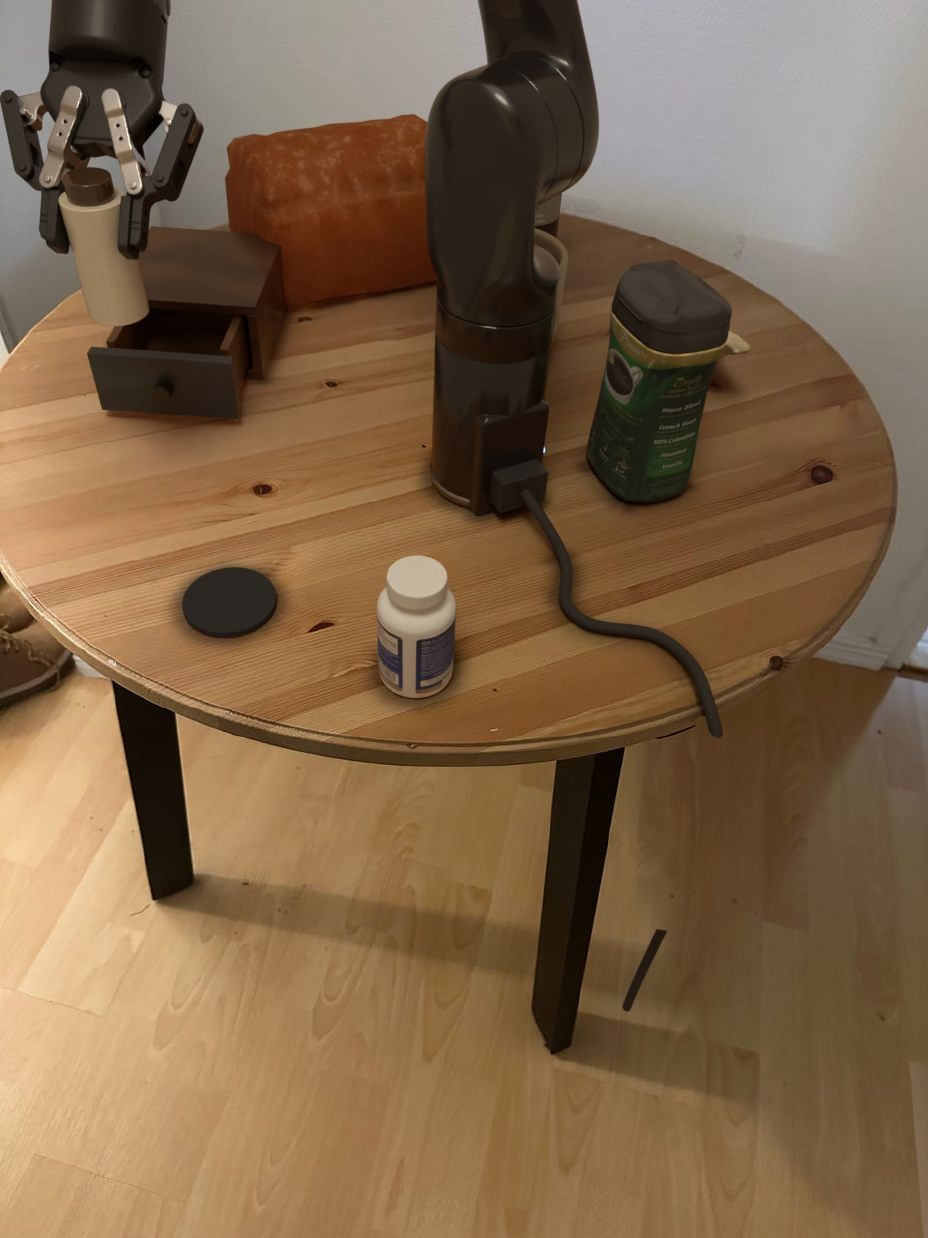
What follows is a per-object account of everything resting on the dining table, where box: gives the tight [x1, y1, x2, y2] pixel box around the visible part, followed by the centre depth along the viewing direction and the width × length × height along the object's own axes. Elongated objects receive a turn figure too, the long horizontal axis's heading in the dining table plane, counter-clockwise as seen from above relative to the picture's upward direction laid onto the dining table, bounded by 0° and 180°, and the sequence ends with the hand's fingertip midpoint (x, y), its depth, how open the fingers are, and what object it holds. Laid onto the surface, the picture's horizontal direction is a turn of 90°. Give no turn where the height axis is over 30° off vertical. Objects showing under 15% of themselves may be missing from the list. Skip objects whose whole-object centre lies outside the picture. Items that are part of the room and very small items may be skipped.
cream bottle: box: [58, 166, 149, 327], centre depth 68 cm, size 4×4×10 cm
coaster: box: [181, 566, 278, 639], centre depth 72 cm, size 7×7×1 cm
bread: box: [224, 113, 437, 309], centre depth 105 cm, size 17×24×15 cm
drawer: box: [86, 308, 252, 421], centre depth 89 cm, size 15×13×6 cm
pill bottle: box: [376, 555, 457, 699], centre depth 65 cm, size 5×5×10 cm
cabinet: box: [113, 225, 290, 381], centre depth 96 cm, size 15×14×8 cm
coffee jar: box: [586, 259, 733, 503], centre depth 80 cm, size 10×8×19 cm
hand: (92, 251), depth 66 cm, fingers closed on cream bottle, 4 cm apart
